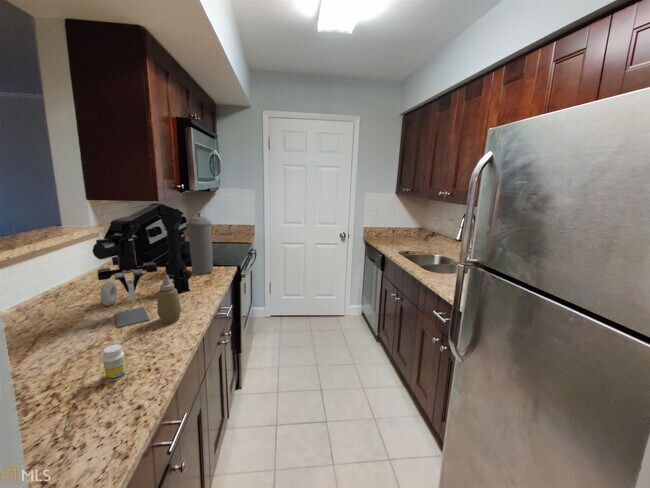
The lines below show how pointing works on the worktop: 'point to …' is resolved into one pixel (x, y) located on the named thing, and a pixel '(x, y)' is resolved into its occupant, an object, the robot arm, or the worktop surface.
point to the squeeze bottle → (168, 302)
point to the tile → (130, 289)
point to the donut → (108, 293)
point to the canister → (200, 244)
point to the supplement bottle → (114, 362)
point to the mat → (131, 317)
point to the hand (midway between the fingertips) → (131, 291)
